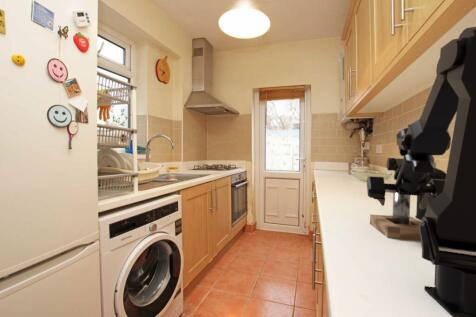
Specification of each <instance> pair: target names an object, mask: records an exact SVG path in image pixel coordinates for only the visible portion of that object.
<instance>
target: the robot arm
mask: <svg viewBox="0 0 476 317" xmlns="http://www.w3.org/2000/svg"><path fill="white" fill-rule="evenodd" d="M435 74H436V77H435V79H434V82H433V85H432V87H431V89H430V92H429V95H428V98H427V100H426V103H425V105H424V107H423V109H422V113H421V115H420V117H419V119H417V120H415V121H414V122H412V123H411V124H408V125H407V127H406V128H403V129H401V130H400V131H399V132H398V133H397V134H396V137H395V138H396V145H397V147H398V150H399V154H400V156H401V157H403V158H395V157H387V159H386V169H387V170H388V171H394V173H393V174H394V175H393V180H395V183H385V179H384V178H385V177H384V176H372V175H371V176H368V177H367V178H366V188H367V189H366V190H367V197H369V198H370V199H374V200H377V202H379V203H380V204H381V207H384V206H385V202H386V193H389V194H390V193H392V194H393V193H399V194H402V195H410V196H416V197H417V196H422V194H423V193H425V195H424V196H423V198H422V200H421V202H420V204H419V208H420V209H424V208H427V209H426V213H425V217H423V218H422V220H420V221H421V223H420V225H419V232H420V238H421V240H420V243H421V258H422V259H423V260H426V261H428V262H430V263H431V264H432V265H433V266H434V267H435V268H434V286H427V285H424V287H423V288H424V291H425V292H426V293H427V294H429V296H431V297H432V299H434V300H435V301H436V303H438V304H439V305H440V306H441V307H442V308H443V309H444V310H445V311H446V312H448V314H450V315H451V316H454V317H476V26H470V27H466V28H464V29H463V30H462V31H461V33H460V34H459V35H458V38H453V39H451V40H450V41H449V42H447V43H446V44H445V45H443V46H442V47H440V52H439V59H438V61H437V64H436V73H435ZM454 118H455V119H454ZM453 119H454V120H455V122H454V126H453V132H452V138H451V134H450V131H449V128H450V125H451V123H452V121H453ZM448 150H449V155H448V161H447V162H448V163H447V168H446V172H445V173H446V178H445V180H437V179H431V180H430V184H428V183H427V180H426V179H427V177H428V175H429V173H433V172H434V168H433V164H434V162H435V157H434V156H443V155H444V154H446V152H447V151H448ZM439 248H440V249H439ZM441 249H447V250H454V251H447V250H441ZM455 251H456V252H455ZM457 251H462V252H467V253H461V252H457ZM468 252H469V253H470V254H469V253H468ZM471 253H473V254H471ZM474 253H475V254H474Z"/></svg>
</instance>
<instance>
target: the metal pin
mask: <svg viewBox="0 0 476 317" xmlns="http://www.w3.org/2000/svg"><path fill="white" fill-rule="evenodd" d="M392 194H393V195H392V216H393V221H392V223H394V224H405V225H409V220H410V217H411V216H410V214H411V195H402V194H399V193H392Z"/></svg>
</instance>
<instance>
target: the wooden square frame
mask: <svg viewBox="0 0 476 317" xmlns="http://www.w3.org/2000/svg"><path fill="white" fill-rule="evenodd" d="M392 221H393V215H387V214H386V215H383V214H370V215H369V225H371V226H372V227H373V228H375V229H376V230H377V231H378V232H380V233H381V234H382V235H384V237H386V238H389V239H405V240H419V241H421V238H420V232H419V225H420V223H421V220H419V219H417V218H416V217H412V216H410V220H409V225H405V224H394V223H392Z"/></svg>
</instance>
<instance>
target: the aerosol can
mask: <svg viewBox="0 0 476 317" xmlns="http://www.w3.org/2000/svg"><path fill="white" fill-rule="evenodd" d="M433 168H434V172H433V173H429V175H428V177H427V179H426V180H427V183H428V184H430V180H431V179H437V180H445V178H446V172H445V171H444V170H442V169H439V168H437V162H436V161H434V164H433ZM424 195H425V193H423V194H422V196H416V211H415V213H416V214H415V217H414V218H415V219H417V220H419V221H421V220H422V218H423V217H425V213H426V209H427V208H424V209H420V208H419V204H420V202H421V200H422V198H423V196H424Z"/></svg>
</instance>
